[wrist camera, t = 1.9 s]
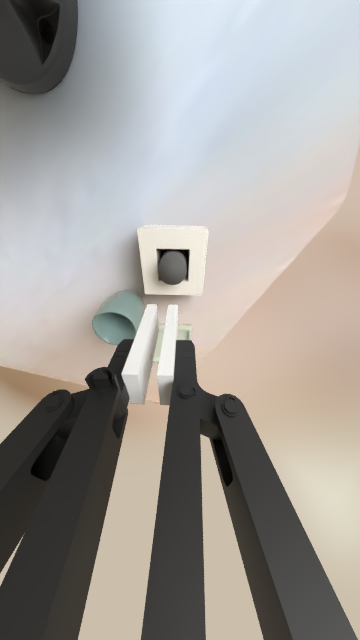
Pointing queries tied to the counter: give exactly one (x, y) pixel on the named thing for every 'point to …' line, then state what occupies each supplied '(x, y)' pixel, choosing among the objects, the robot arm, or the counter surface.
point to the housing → (173, 238)
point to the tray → (183, 334)
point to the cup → (119, 317)
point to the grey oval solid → (172, 266)
